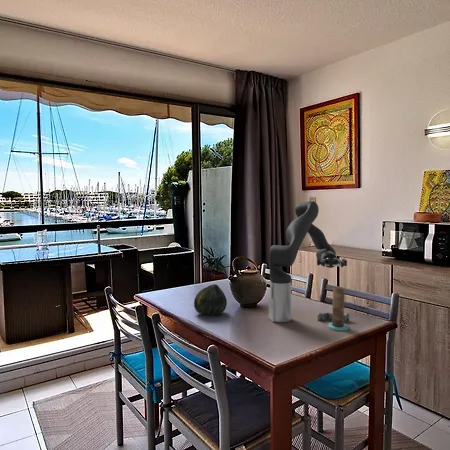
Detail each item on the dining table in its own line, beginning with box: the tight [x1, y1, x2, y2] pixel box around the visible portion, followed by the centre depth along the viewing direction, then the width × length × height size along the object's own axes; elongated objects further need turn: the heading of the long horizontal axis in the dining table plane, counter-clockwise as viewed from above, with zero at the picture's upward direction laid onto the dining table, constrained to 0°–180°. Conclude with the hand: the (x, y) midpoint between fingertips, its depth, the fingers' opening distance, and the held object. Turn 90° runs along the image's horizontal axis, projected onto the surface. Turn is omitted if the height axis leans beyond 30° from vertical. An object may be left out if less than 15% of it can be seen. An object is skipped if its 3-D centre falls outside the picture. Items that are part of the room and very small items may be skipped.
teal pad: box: [327, 322, 349, 332], centre depth 161 cm, size 8×8×1 cm
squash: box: [193, 283, 228, 316], centre depth 180 cm, size 14×15×15 cm
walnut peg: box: [331, 286, 345, 327], centre depth 161 cm, size 5×5×16 cm
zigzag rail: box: [317, 312, 350, 323], centre depth 170 cm, size 14×5×3 cm, turn 86°
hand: (333, 264), depth 184 cm, fingers open, 8 cm apart
